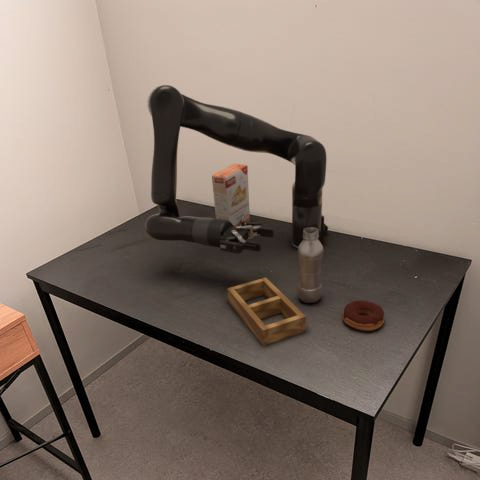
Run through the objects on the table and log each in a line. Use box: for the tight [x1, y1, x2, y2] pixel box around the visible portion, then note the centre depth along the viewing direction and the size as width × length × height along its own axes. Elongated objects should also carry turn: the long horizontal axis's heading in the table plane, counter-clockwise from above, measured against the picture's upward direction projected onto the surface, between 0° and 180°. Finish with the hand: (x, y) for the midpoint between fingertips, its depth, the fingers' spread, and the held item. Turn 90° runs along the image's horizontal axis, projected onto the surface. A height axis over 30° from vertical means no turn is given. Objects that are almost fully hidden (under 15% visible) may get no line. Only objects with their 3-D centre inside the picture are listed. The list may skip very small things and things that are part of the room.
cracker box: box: [211, 163, 251, 226], centre depth 157 cm, size 14×6×21 cm, turn 148°
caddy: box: [227, 277, 307, 346], centre depth 115 cm, size 11×21×4 cm, turn 24°
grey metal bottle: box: [297, 227, 324, 304], centre depth 116 cm, size 6×7×20 cm
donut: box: [342, 300, 385, 332], centre depth 111 cm, size 10×10×4 cm
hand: (267, 240), depth 117 cm, fingers open, 8 cm apart
